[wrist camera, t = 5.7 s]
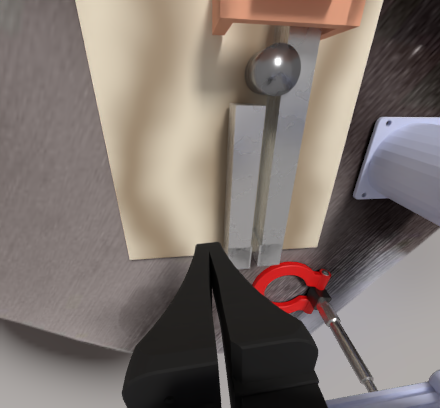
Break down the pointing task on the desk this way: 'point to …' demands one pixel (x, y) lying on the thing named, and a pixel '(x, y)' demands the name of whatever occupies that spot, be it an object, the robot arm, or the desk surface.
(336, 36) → the board
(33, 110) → the desk surface
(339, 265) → the desk surface
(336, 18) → the collar
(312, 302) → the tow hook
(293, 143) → the tong base
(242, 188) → the bar
